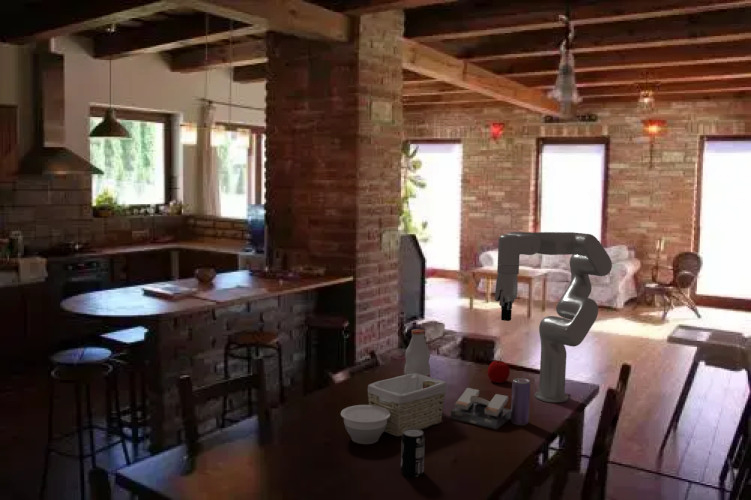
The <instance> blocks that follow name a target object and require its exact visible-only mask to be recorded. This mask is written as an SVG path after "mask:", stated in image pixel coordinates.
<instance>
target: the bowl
mask: <svg viewBox="0 0 751 500" xmlns="http://www.w3.org/2000/svg"><path fill="white" fill-rule="evenodd" d="M340 416H341V417H342V418H343V423H344V427H345V430H346V432H347V434H348V435H349V436H350V437H351V440H352V442H354V443H356V444H361V445H371V444H376V443H377V442H378V441H379V440H380V437H381V436H382V434H383V433H384V430H385V428H386V424H387V419H388V418H389V417H390V412H389V411H388V410H387V409H385V408H383V407H379V406H374V405H369V404H357V405H352V406H351V405H350V406H347V407H345V408H343V409H342V410H341V412H340Z"/></svg>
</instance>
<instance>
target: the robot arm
mask: <svg viewBox="0 0 751 500" xmlns="http://www.w3.org/2000/svg"><path fill="white" fill-rule="evenodd" d="M497 246H498V248H497V271H496V272H497V275H496V276H497V277H496V282H495V291H494V300H495V301H496V302H499V306H500V309H501V314H500V319H501V321H504V322H505V321H506V322H510V321H512V311H513V310H512V309H513V304H514V302H515V300H516V299H517V297H518V291H519V290H518V287H519V286H518V281H519V280H518V275H520V272H519V271H520V255H525V256H533V255H536V254H539V255H545V256H546V255H547V256H560V255H563V256H565V255H567V256H569V255H571V257H569V269H570V276H571V278H570V279H571V280H570V283H569V285H568V287H567V288H566V289H565V292H564V293H563V294H562V296H561V297H560V299H559V301H558V303H557V305H556V309H555V310H556V313H557V315H558V316H555V315H548V316H545V317H543V318H542V320H540V323H539V327H538V328H539V329H538V330H539V339H540V360H539V361H540V363H539V387H538V390H536V391H535V393H534V397H535V398H536V399H537V400H539V401H542V402H547V403H558V404H559V403H565V402H567V401H569V395H568V394H567V393H566V391H565V389H566V388H565V387H566V374H567V372H566V370H567V349H566V346H568V347H573V348H574V347H577V346H579V345H580V344H582V342H583V341H584V340H585V338H586V337H587V335H588V333H589V331H590V330H591V328H592V327H593V325H594V324H595V322H596V320H597V318H598V314H599V306H598V303H597V302H596V301H595V300H594V299H592V298H590V295H591V293H592V283H591V279H590V276H596V277H605V276H607V275H609V274H610V272H611V271H612V268H613V263H612V260H611V257H610V254H608V252H607V251H606V249H605V247H603V245H602V243H601V242H600V240H598V238H597V237H596V236H594V235H593V234H590V233H583V232H574V231H573V232H571V231H570V232H569V231H567V232H564V231H563V232H562V231H561V232H559V231H555V232H554V231H552V232H551V231H550V232H549V231H540V232H539V231H538V232H537V231H536V232H534V231H533V232H532V231H531V232H526V231H524V232H523V231H513V232H508V233H507V234H501V235H499V237H498V244H497Z"/></svg>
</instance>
